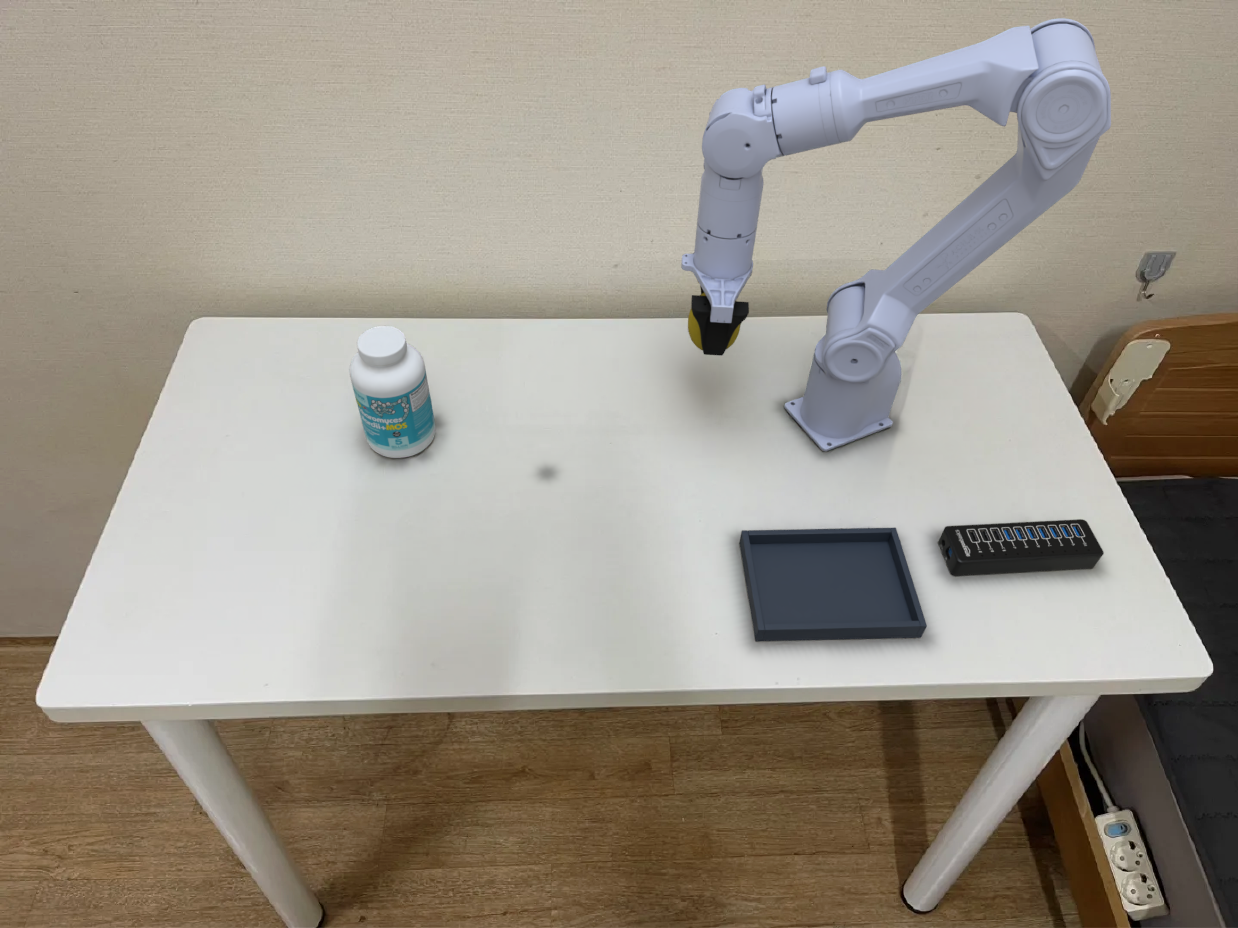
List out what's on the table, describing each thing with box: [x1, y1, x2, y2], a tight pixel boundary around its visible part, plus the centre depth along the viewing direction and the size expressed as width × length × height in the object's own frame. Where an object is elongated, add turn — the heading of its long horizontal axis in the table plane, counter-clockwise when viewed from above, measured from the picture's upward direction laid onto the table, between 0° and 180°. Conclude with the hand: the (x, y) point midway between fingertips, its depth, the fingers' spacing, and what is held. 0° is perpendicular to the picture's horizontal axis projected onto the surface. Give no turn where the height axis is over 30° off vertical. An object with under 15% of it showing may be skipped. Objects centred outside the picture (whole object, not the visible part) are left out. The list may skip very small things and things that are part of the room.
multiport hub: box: [937, 518, 1105, 577], centre depth 86 cm, size 4×14×2 cm, turn 95°
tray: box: [738, 527, 928, 643], centre depth 83 cm, size 15×11×2 cm
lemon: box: [687, 293, 742, 352], centre depth 93 cm, size 6×6×8 cm
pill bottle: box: [348, 325, 436, 459], centre depth 91 cm, size 8×7×14 cm
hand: (713, 334), depth 94 cm, fingers closed on lemon, 5 cm apart
